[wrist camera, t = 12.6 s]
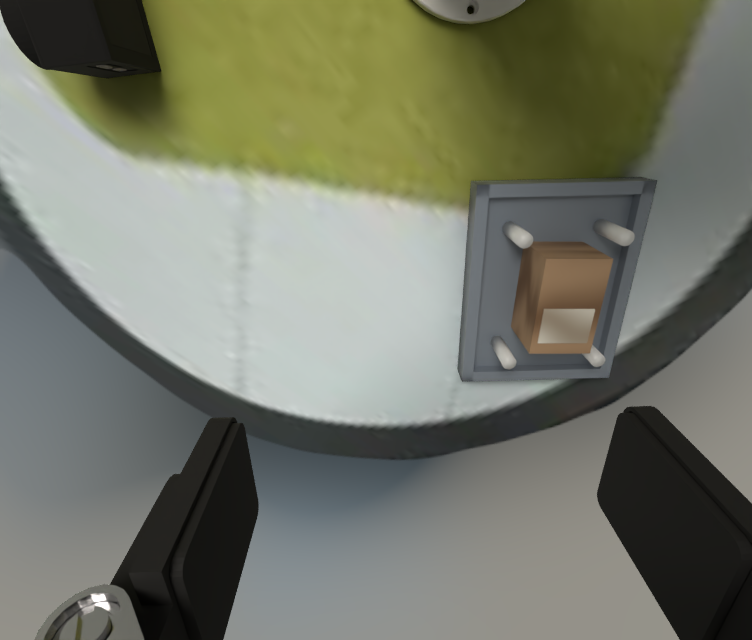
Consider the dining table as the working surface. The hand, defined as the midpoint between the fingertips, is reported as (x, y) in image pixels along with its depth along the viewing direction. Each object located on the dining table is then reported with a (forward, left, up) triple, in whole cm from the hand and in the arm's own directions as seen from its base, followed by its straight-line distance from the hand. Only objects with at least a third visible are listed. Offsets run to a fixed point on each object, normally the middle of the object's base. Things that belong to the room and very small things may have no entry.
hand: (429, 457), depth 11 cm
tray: (+6, +14, -28) cm, 32 cm away
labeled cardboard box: (+6, +14, -27) cm, 31 cm away
